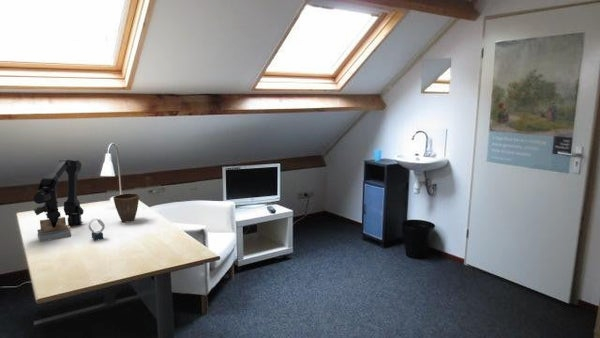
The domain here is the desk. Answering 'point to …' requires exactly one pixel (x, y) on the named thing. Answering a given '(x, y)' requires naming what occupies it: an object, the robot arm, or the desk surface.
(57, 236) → the rack
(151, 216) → the desk surface
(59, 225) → the panel
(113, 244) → the desk surface
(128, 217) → the plant pot
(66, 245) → the desk surface
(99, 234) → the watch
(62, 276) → the desk surface
